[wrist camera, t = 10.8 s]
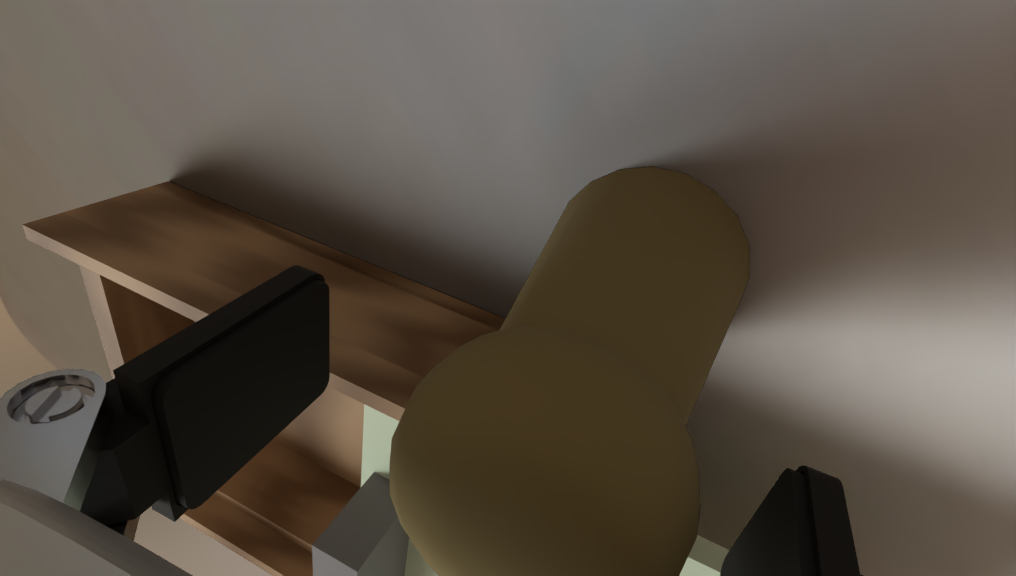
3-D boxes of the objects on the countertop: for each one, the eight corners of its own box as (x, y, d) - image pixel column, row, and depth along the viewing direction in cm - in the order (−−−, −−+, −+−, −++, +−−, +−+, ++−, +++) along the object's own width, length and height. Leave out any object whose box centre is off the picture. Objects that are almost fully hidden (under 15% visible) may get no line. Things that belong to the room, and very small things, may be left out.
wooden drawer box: (531, 329, 20) (454, 432, 15) (476, 548, 27) (414, 663, 22) (167, 181, 24) (21, 224, 19) (206, 403, 32) (108, 473, 27)
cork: (531, 298, 19) (318, 560, 10) (587, 135, 16) (342, 311, 7) (694, 375, 18) (615, 754, 9) (793, 216, 14) (828, 565, 5)
